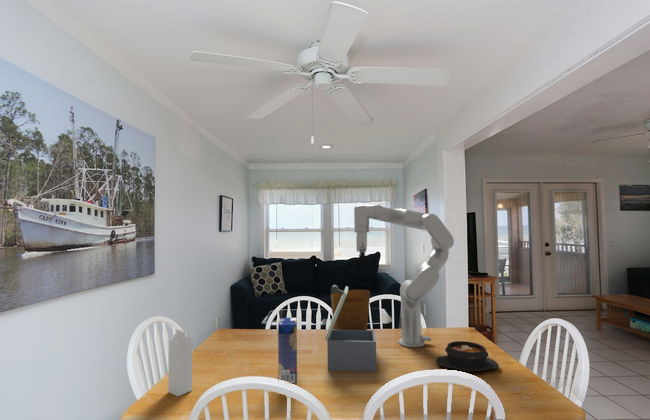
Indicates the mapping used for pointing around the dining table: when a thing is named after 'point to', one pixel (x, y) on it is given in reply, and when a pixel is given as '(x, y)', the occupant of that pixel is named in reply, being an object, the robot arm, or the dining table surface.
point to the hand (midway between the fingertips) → (362, 263)
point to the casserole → (466, 357)
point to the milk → (180, 364)
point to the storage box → (352, 350)
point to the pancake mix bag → (352, 310)
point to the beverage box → (287, 349)
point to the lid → (344, 294)
